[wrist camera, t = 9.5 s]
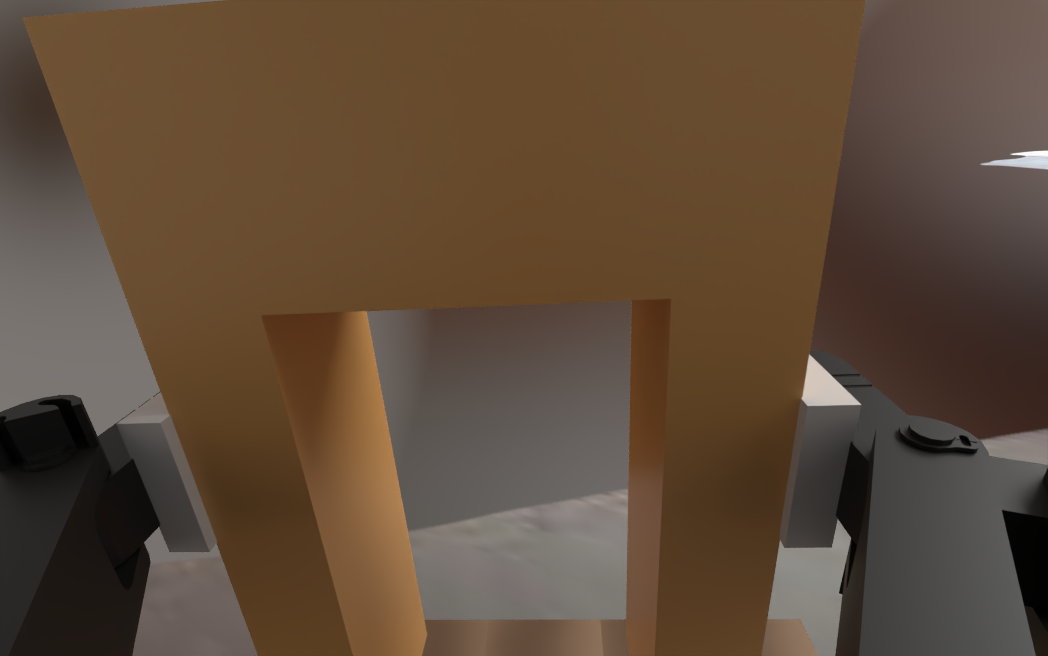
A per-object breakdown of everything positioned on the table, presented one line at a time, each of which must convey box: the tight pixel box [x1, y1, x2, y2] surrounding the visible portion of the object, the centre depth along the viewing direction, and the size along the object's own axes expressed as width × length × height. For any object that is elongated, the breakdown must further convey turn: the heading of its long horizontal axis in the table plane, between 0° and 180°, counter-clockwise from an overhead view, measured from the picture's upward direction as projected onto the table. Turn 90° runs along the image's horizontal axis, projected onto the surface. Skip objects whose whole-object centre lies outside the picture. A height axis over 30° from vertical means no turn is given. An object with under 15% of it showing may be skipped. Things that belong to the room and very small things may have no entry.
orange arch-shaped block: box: [23, 0, 865, 656], centre depth 11 cm, size 10×4×16 cm, turn 87°
